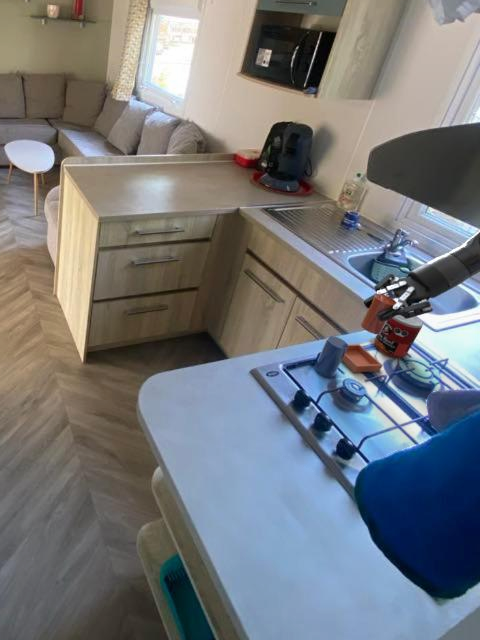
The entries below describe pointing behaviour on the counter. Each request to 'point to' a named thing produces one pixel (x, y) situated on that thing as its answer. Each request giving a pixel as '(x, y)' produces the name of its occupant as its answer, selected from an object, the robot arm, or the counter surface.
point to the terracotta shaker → (377, 306)
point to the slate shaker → (331, 356)
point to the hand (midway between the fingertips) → (372, 311)
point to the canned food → (398, 335)
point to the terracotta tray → (360, 359)
